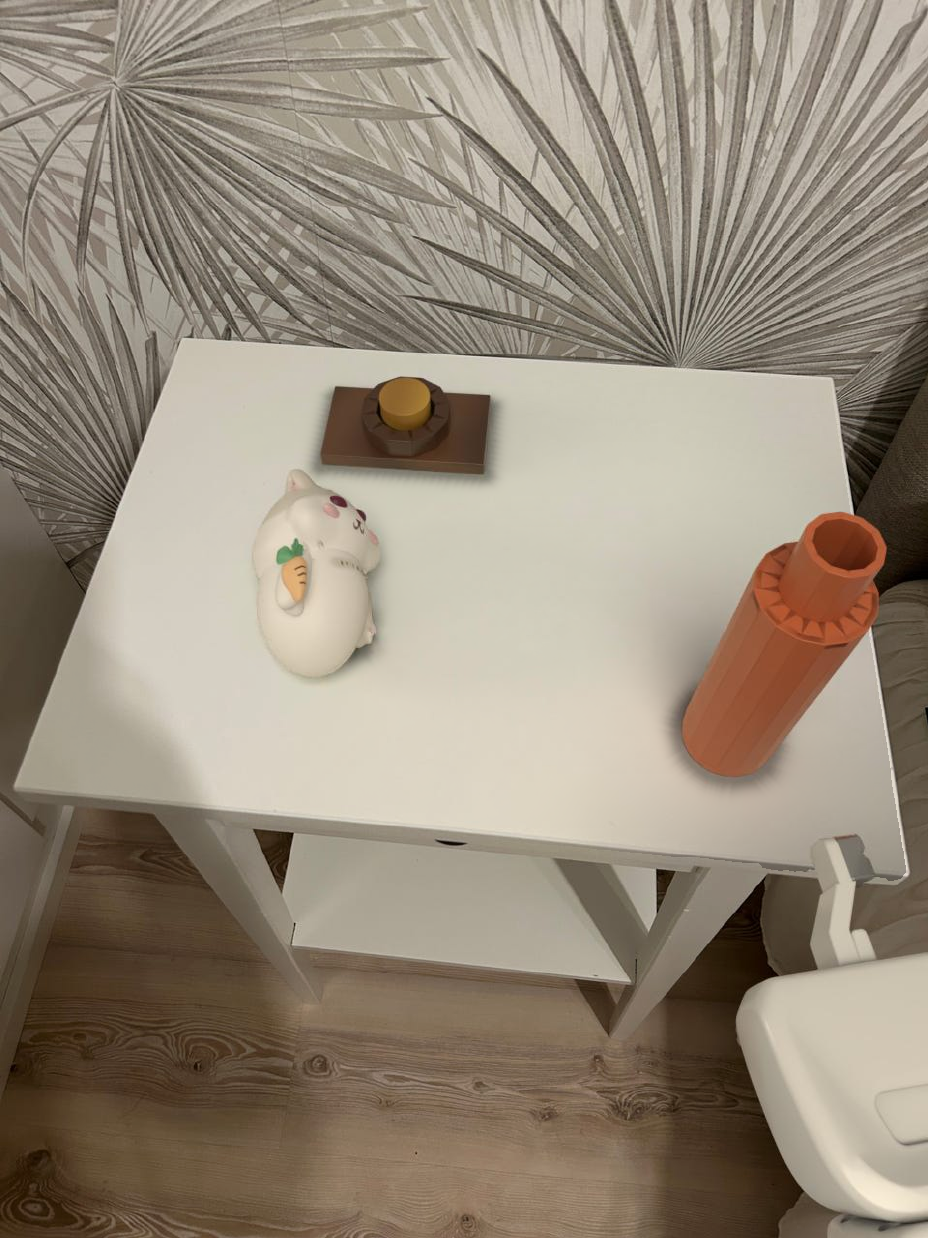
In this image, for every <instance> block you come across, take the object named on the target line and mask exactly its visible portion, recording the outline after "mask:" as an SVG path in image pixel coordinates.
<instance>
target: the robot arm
mask: <svg viewBox="0 0 928 1238" xmlns="http://www.w3.org/2000/svg"><path fill="white" fill-rule="evenodd" d="M865 849H866V846H865V843H864V841H863V839H862V837H861V836H860V835H859V834H857V833H853V834H852V833H851V834H845V835H837V836H831V837H825V838H824V837H823V838H819V839H818V840H817V841H816V842H814V843H813V844H812V845H811V846H810V848H809V854H810V860H811V863H812V865H813V868H814V871H815V875H816V877H817V880H818V884H819V886H820V889H821V892H822V893H821V894H819V898H818V904H817V909H816V912H815V919H814V923H813V927H812V933H811V937H810V941H809V946H810V949H811V952H812V956H813V959H814V962H815V965H816V968H817V969H815V970H810V971H803V972H798V973H797V972H796V973H791V974H784V975H778V976H774V977H769V978H767V979H764V980H763V981H760V982H759V983H756V984H755V985H753V986H751V987H750V988H748V989H747V990H746V991H745V993H744V995H743V997H742V999H741V1002H740V1005H739V1007H738V1010H737V1014H736V1018H735V1027H736V1033H737V1037H738V1039H739V1043H740V1048H741V1051H742V1054H743V1057H744V1061H745V1064H746V1067H747V1071H748V1072H749V1073H748V1074H749V1076H750V1078H751V1079H750V1080H751V1082H752V1085H753V1087H754V1090H755V1093H756V1097H757V1098H758V1101H759V1104H760V1106H761V1109H762V1112H763V1114H764V1117H765V1120H766V1122H767V1124H768V1127H769V1130H770V1132H771V1134H772V1136H773V1139H774V1141H775V1143H776V1146H777V1148H778V1150H779V1153H780V1155H781V1157H782V1159H783V1161H784V1164H785V1165H786V1167H787V1169H788V1171H789V1172H790V1175H792V1177H793V1178H794V1180H795V1181H796V1183H797V1184H798V1185H799V1186H800V1187H801V1189H802V1190H803V1191H804V1192H805V1193H806V1194H807V1195H808V1196H809V1197H810V1198H811V1199H812V1200H814V1201H815V1202H816V1203H818V1204H819V1205H821V1206H823V1207H825V1208H827V1209H829V1210H832V1211H835V1212H838V1213H840V1214H838V1215H837V1216H835V1217H833V1219H831V1221H829V1223H828V1226H827V1230H826V1232H827V1233H826V1234H827V1235H826V1236H827V1238H928V951H927V952H926V951H925V952H919V953H912V954H906V955H901V956H895V957H889V958H882V959H878V958H877V955H876V952H875V949H874V947H873V945H872V942H871V940H870V937H869V934H868V932H867V930H865V929H864V928H859V929H853V930H850V929H851V928H850V927H851V919H852V912H853V908H854V907H853V906H854V899H855V891H856V890H857V889H859V888H861V887H863V886H864V885H866V883H868V882H870V881H873V879H875V878H876V877H877V875H876V873H875V871H874V870H875V869H874V868H873V864H872V862H871V859H870V858H869V857H868V856H866V855H865V854H864V853H865Z"/></svg>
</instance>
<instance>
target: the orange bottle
mask: <svg viewBox="0 0 928 1238" xmlns="http://www.w3.org/2000/svg"><path fill="white" fill-rule="evenodd" d="M887 550H888V548H887V545H886V542H885V540H884V538H883V537H882V534H881V532H880V531H879V530H878V528H876V527H875V526H874V525H872V524H871V523H870V522H869V521H867V520H866V519H865V518H863V517H861V516H859V515H855V514H851V513H847V512H844V511H834V512H826V513H821V514H819V515H818V516H817V517H815V518H814V519H812V520H811V521H810V522H809V523H807V525H806V526H805V527H804V530H803V531H802V534H801V535H800V538H799V539H798V541H790V542H785V543H782V544H781V545H779V546H777V547H775V548H773V549H772V550H770V551H767V552H766V553H765V555H764V556H763V557H762V558H761V560H760V562H758V564H757V566H756V568H755V569H754V571H753V573H752V575H751V577H750V580H749V581H748V583H747V585H746V587H745V589H744V590H743V593H742V595H741V597H740V599H739V602H738V604H737V605H736V608H735V610H734V612H733V614H732V616H731V618H730V620H729V622H728V624H727V625H726V628H725V630H724V632H723V634H722V636H721V638H720V640H719V642H718V645H717V646H716V648H715V651H714V653H713V655H712V656H711V658H710V661H709V663H708V664H707V667H706V669H705V670H704V673H703V674H702V677H701V679H700V681H699V683H698V685H697V687H696V689H695V691H694V693H693V695H692V697H691V699H690V702H689V703H688V705H687V707H686V710H685V711H684V715H683V718H682V721H681V736H682V741H683V744H684V747H685V748H686V750H687V752H688V753H689V755H690V756H691V757H692V759H693V760H694V761H695V762H696V763H698V765H700V766H701V767H702V768H704V769H705V770H707V771H709V772H711V773H712V774H715V775H718V776H723V777H729V778H737V777H738V778H739V777H745V776H748V775H751V774H753V773H755V772H757V771H758V770H760V769H761V768H762V767H763V766H764V765H765V764H766V763H767V762H768V761H769V760H770V759H771V758H772V756H773V755H774V754H775V752H776V751H777V750H778V749H779V747H780V746H781V744H782V743H783V742H784V741H785V739H786V738H787V737H788V735H790V733H791V731H793V729H794V728H795V726H796V725H797V724H798V723H799V721H800V720H801V719H802V717H803V716H804V715H805V713H806V712H807V711H808V709H809V708H810V707H811V706H812V704H813V703H814V702H815V700H816V699H817V698H818V697H819V695H820V694H821V693H822V691H823V690H824V689H825V687H827V685H828V684H829V682H830V681H832V679H833V677H834V676H835V674H836V673H837V672H838V671H839V670H840V668H841V667H842V665H843V664H844V663H845V662H846V661H847V659H848V658H849V656H850V655H851V654H852V652H853V651H854V650H855V649H856V647H857V646H858V645H859V643H861V641H862V640H863V638H864V637H865V636H866V634H867V633H868V632H869V630H870V629H871V627H872V626H873V624H874V622H875V621H876V618H877V617H878V615H879V601H880V600H879V599H880V597H879V596H880V595H879V591H878V588H877V587H876V584H875V582H874V579H875V577H876V576H877V575H878V574H879V572H880V570H881V569H882V568H883V566H884V564H885V559H886V554H887Z"/></svg>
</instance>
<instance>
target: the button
mask: <svg viewBox="0 0 928 1238" xmlns="http://www.w3.org/2000/svg"><path fill="white" fill-rule="evenodd" d="M379 404H380V412H381V417H382V419H383V421H384V422H385V423H386V424H387V425H388V426H389V427H391V428H393V429H396V430H406V431H409V430H413V429H416V428H418V427H421V426H423V425H424V424H425V423H426V422H427V421H428V419H429V418H430V415H431V400H430V392H429V389H428V388H427V386H426V385H425V384H424V383H422V382H421V381H419V380H416V379H413V378H398V379H395V380H392V381H390V382H388V383H387V384H386V385H385V386H384V387H383V388H382V389H381V391H380V393H379Z"/></svg>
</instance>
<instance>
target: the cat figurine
mask: <svg viewBox="0 0 928 1238" xmlns="http://www.w3.org/2000/svg"><path fill="white" fill-rule="evenodd" d="M366 522H367V514H366V512H364V510H361V509H358V508H356V507H355V506H354V505H353V504H352V503H351V502H350V501H349V500H348V499H347V498H345V497H344V496H343V495H341V494H339V493H337V492H335V491H334V490H332V489H327V488H323V487H321V486H319V484H317V483H316V482H315V481H314V480H313V479H312V478H311V476H310V475H309V474H308V473H306V472H305V471H304V470H302V469H299V468H294V469H291V470H290V471H289V472H288V474H287V477H286V484H285V492H284V495H283V496H281V497H280V498H279V499H278V500H277V501H276V502H275V503H274V504H273V505H272V506H271V508H270V509H268V512H267V514H265V517H264V518H263V520H262V522H261V524H260V526H259V528H258V530H257V533H256V534H255V538H254V540H253V544H252V550H251V560H252V565H253V566H252V567H253V570H254V572H255V575H256V578H257V581H258V582H259V583H258V588H257V594H256V595H257V597H256V613H257V621H258V625H259V629H260V632H261V636H262V639H263V640H264V642H265V644H266V646H267V648H268V650H269V651H270V652H271V654H272V655H273V657H274V658H275V659H276V661H278V662H279V663H280V664H281V665H282V666H283V667H285V669H287V670H289V671H290V672H292V673H294V674H296V675H299V676H302V677H305V678H322V677H326V676H328V675H330V674H332V673H334V672H336V671H337V670H338V669H340V668H341V667H342V666H343V665H344V664H346V662H348V660H349V659H350V657H351V656H352V655H353V654H354V652H355V650H356V649H357V648H358V649H361V648H363V647H364V646H365V645H369V644H372V643H373V640H374V636H375V635H377V632H378V628H377V627H376V625H375V624H374V619H373V606H372V599H371V598H372V597H371V595H370V590H369V588H368V583H367V578H369V577H368V576H366V575H367V574H368V573H370V572H372V571H373V570H374V569H376V568H377V567H378V565H379V563H380V561H381V556H382V555H381V549H380V547H379V539H378V537H377V535H376V534H375V533H374V532H373V531H372V530H370V529H369V528H368V526H367V524H366Z"/></svg>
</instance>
